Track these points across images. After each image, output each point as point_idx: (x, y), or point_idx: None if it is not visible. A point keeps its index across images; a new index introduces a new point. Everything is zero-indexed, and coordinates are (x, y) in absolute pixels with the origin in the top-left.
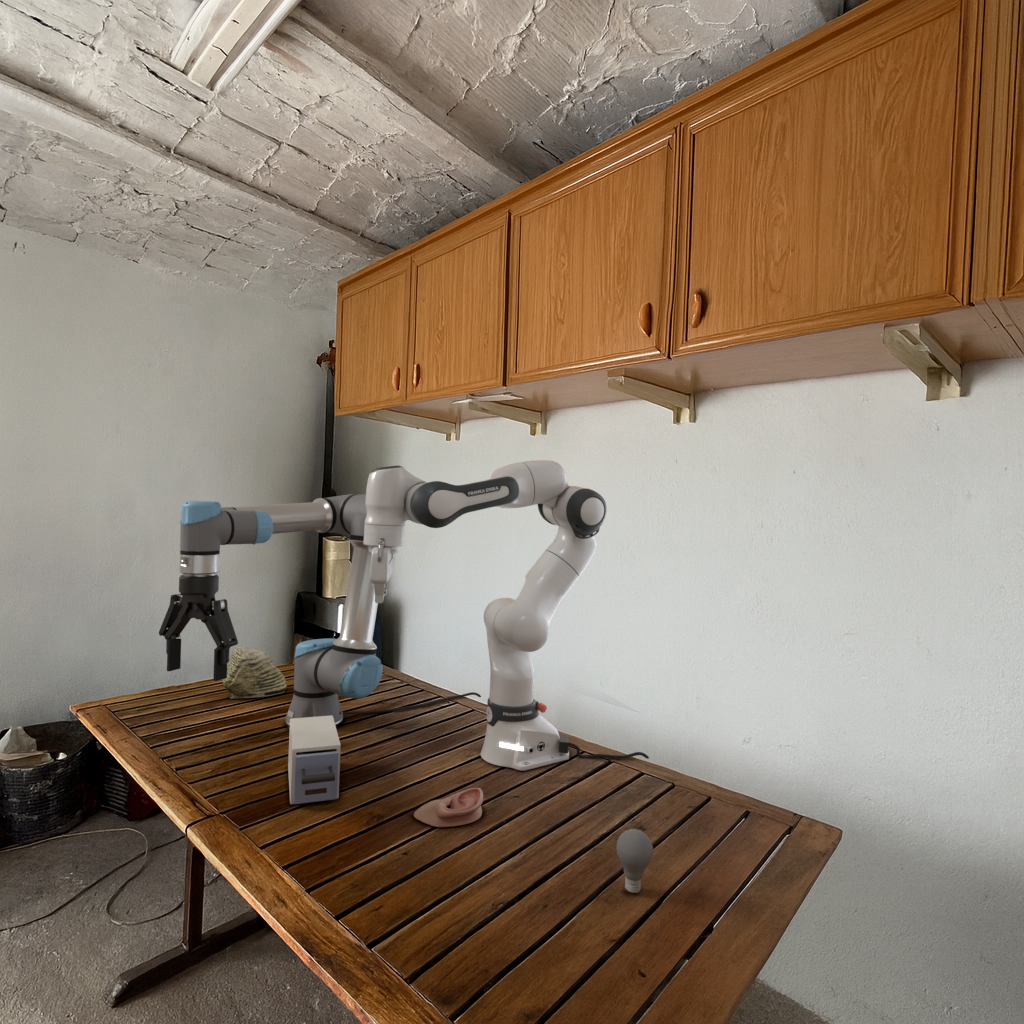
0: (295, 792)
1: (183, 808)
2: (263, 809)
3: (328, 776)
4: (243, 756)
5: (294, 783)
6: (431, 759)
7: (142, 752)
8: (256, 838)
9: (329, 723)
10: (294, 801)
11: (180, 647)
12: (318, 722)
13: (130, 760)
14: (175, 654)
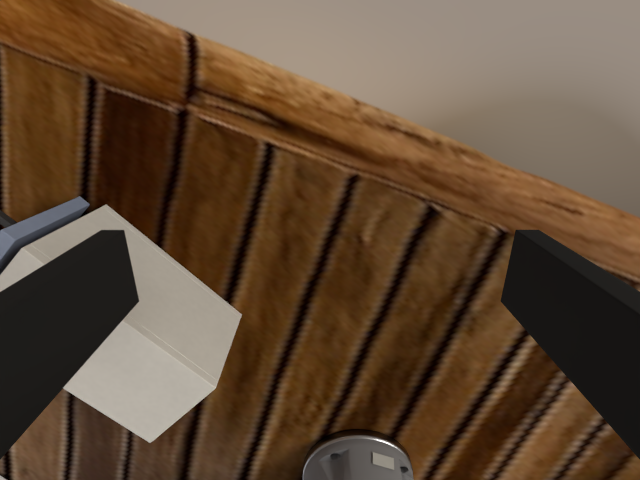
0: (63, 204)
1: (267, 86)
2: (129, 164)
3: None
4: (358, 311)
5: (56, 211)
6: (60, 439)
7: (570, 233)
8: (33, 67)
9: (109, 406)
10: (76, 198)
11: (591, 398)
12: (135, 399)
13: (564, 193)
14: (571, 325)
